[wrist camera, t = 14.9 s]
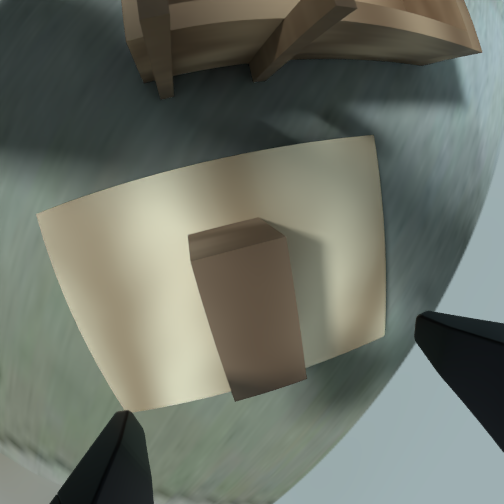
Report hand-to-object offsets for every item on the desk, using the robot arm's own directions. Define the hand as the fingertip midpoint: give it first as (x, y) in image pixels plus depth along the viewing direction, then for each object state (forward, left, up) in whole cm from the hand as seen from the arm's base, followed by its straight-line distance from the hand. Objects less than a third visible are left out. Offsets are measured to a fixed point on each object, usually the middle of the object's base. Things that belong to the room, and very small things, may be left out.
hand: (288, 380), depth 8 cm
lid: (0, 0, -7) cm, 7 cm away
